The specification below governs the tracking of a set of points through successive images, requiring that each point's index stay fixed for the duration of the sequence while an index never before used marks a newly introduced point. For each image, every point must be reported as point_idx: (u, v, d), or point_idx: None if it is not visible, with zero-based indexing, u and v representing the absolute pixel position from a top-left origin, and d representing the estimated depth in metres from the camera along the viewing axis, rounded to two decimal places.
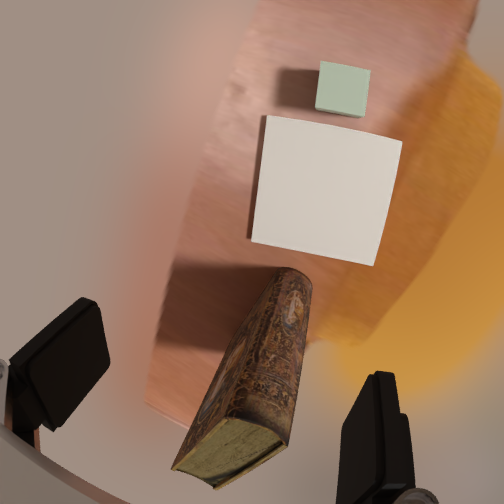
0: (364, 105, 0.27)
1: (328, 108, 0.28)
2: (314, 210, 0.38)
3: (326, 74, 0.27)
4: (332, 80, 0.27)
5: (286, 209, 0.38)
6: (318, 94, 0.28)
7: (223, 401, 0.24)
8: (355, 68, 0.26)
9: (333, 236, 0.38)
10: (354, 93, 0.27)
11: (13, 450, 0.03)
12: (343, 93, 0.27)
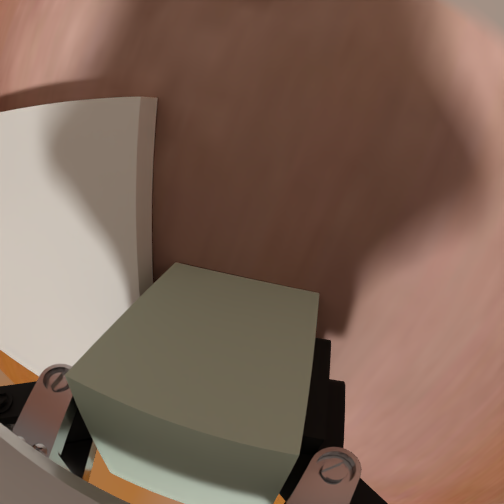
0: (141, 485, 0.07)
1: (83, 412, 0.06)
2: None
3: (220, 455, 0.05)
4: (196, 461, 0.06)
5: None
6: (117, 404, 0.05)
7: None
8: None
9: None
10: (168, 484, 0.07)
11: (13, 450, 0.03)
12: (154, 466, 0.06)
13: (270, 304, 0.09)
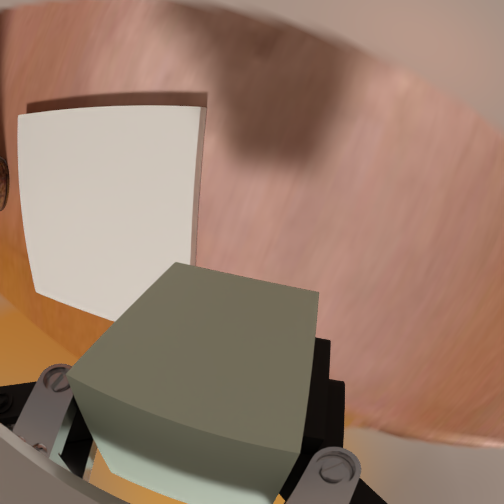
0: (141, 484, 0.07)
1: (84, 412, 0.06)
2: (63, 207, 0.20)
3: (220, 453, 0.05)
4: (197, 459, 0.06)
5: (56, 162, 0.19)
6: (118, 403, 0.05)
7: None
8: None
9: (44, 238, 0.22)
10: (169, 484, 0.07)
11: (13, 450, 0.03)
12: (154, 465, 0.06)
13: (270, 303, 0.09)
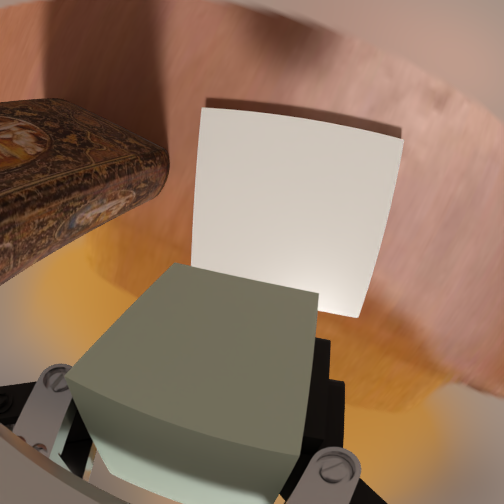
0: (141, 486, 0.07)
1: (83, 413, 0.06)
2: (258, 202, 0.25)
3: (220, 456, 0.05)
4: (196, 461, 0.06)
5: (257, 160, 0.24)
6: (117, 405, 0.05)
7: None
8: None
9: (223, 229, 0.27)
10: (168, 485, 0.07)
11: (13, 450, 0.03)
12: (154, 467, 0.06)
13: (270, 304, 0.09)
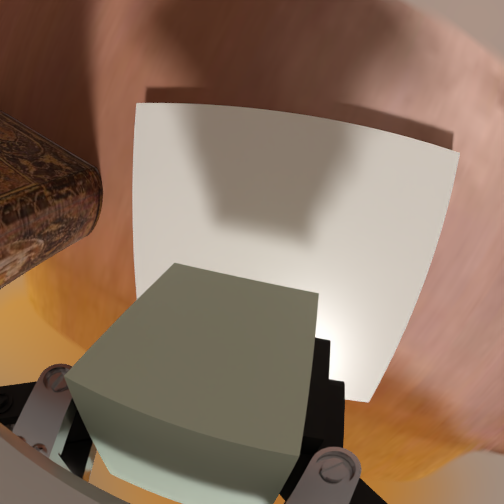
0: (141, 486, 0.07)
1: (82, 413, 0.06)
2: (224, 250, 0.16)
3: (219, 456, 0.05)
4: (196, 461, 0.06)
5: (220, 184, 0.15)
6: (116, 406, 0.05)
7: None
8: None
9: None
10: (168, 485, 0.07)
11: (13, 450, 0.03)
12: (153, 467, 0.06)
13: (269, 304, 0.09)
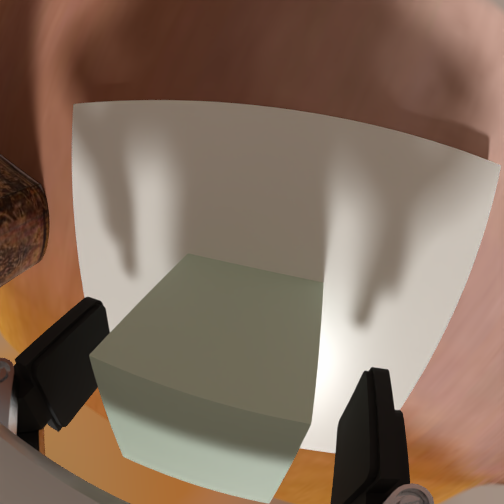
0: (153, 468, 0.08)
1: (103, 393, 0.07)
2: None
3: (237, 427, 0.06)
4: (214, 435, 0.06)
5: (173, 208, 0.11)
6: (140, 381, 0.06)
7: None
8: (273, 486, 0.07)
9: None
10: (182, 464, 0.07)
11: (13, 450, 0.03)
12: (170, 445, 0.07)
13: (279, 292, 0.10)
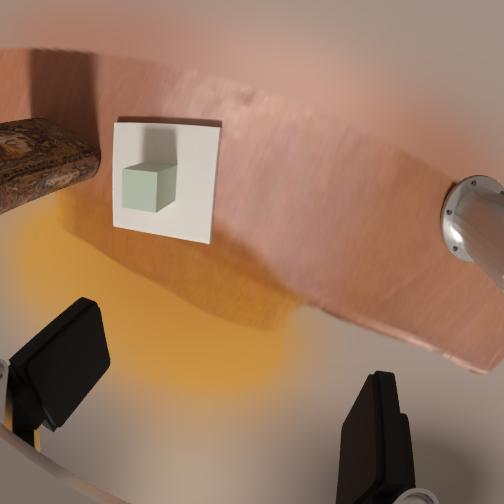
0: (129, 207, 0.38)
1: (122, 179, 0.36)
2: None
3: (146, 177, 0.36)
4: (143, 181, 0.36)
5: (142, 149, 0.41)
6: (131, 171, 0.36)
7: None
8: (155, 200, 0.37)
9: None
10: (136, 199, 0.37)
11: (13, 450, 0.03)
12: (134, 190, 0.37)
13: (164, 165, 0.40)
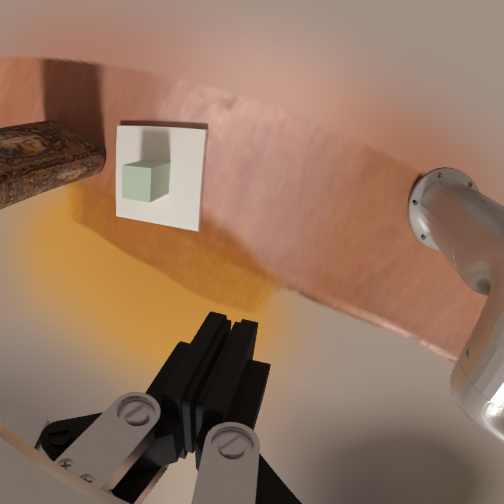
0: (128, 198, 0.44)
1: (122, 174, 0.43)
2: None
3: (142, 172, 0.42)
4: (139, 176, 0.42)
5: (140, 149, 0.47)
6: (130, 167, 0.42)
7: None
8: (149, 192, 0.43)
9: None
10: (134, 191, 0.43)
11: (13, 450, 0.03)
12: (132, 183, 0.43)
13: (158, 162, 0.46)
